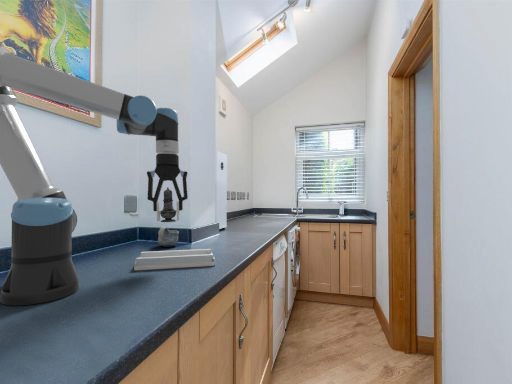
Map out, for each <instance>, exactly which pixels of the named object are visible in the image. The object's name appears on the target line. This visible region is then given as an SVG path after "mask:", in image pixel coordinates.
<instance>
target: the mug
mask: <svg viewBox="0 0 512 384" xmlns="http://www.w3.org/2000/svg"><path fill="white" fill-rule="evenodd" d="M179 232H180V231H178V230H175V229H174V230H173V229H171V230H170V229H169V228H168V227H167V226H161V227H160V228H159V230H158V231H157V234H158V238H157V242H158V244H159V245H160V246H162V247H166V248H171V247H174V246H175V245H177V243H178V242H179V234H180V233H179Z"/></svg>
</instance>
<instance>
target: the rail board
mask: <svg viewBox="0 0 512 384" xmlns="http://www.w3.org/2000/svg"><path fill="white" fill-rule="evenodd" d="M133 265H134V266H133V271H148V270H163V269H166V270H167V269H179V268H181V269H182V268H194V267H195V268H197V267H210V266H211V267H214V265H215V266H216V258H215V256H214V254H213V252H212V249H211V248H198V249H196V248H195V249H179V250H177V249H176V250H175V249H174V250H159V251H158V250H157V251H156V250H153V251H141V252H140V255H139V256H138V257H136V258H135V262H134V264H133Z"/></svg>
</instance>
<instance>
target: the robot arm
mask: <svg viewBox="0 0 512 384" xmlns="http://www.w3.org/2000/svg"><path fill="white" fill-rule="evenodd" d="M14 89H15V90H18V91H20V92H24V93H26V94H27V93H28V94H31V95H34V96H37V97H41V98H45V99H47V100H51V101H55V102H58V103H61V104H64V105H68V106H71V107H74V108H78V109H79V110H80V109H81V110H85V111H87V112H91V113H94V114H98V115H101V116H105V117H107V118H111V119H114V120H116V131H117V132H118V133H119V134H124V135H129V136H130V135H134V136H136V135H137V136H147V137H148V136H150V137H155V153H156V155H155V168H154V170H151V171H150V170H148V171H146V175H147V200H148V201H151V202H152V203H153V204H152V206H153V209H152V210H153V212H156V222H160V221H161V215H160V212H159V211H161V201H159V197H160V194H161V191H162V188H163V186H164V182H166V181H167V182H168V181H170V182H172V184H173V188H174V190H175V193H176V196H177V199H178V201H176V211H177V212H176V221H180V220H181V219H180V211H183V209H184V208H183V202H184V201H186V200H188V185H187V183H188V182H187V178H188V175H189V173H188V171H185V170H184V171H183V170H181V169H180V166H179V165H180V163H179V162H180V161H179V159H180V158H179V157H180V155H178V154H179V152H180V151H179V150H180V149H179V118H178V112H177V111H176V110H175V109H173V108H171V107H170V108H169V107H158V108H157V106H156V105H157V104H155V102H154V101H153V100H152V99H151V98H150V97H148V96H146V95H136V96H132V95H129V94H126V93H122V92H120V91H117V90H114V89H111V88H109V87H105V86H103V85H100V84H97V83H95V82H91V81H88V80H86V79H83V78H80V77H77V76H74V75H71V74H69V73H66V72H63V71H60V70H58V69H54V68H52V67H49V66H47V65H43V64H40V63H37V62H34V61H32V60H30V59H27V58H23V57H21V56H18V55H16V54H13V53H10V52H9V50H8V49H7V47H5V46H3V45H0V167H1V168H2V171H3V172H4V173H5V176H6V177H7V179H8V182H9V183H10V186H11V187H12V189H13V191H14V193H15V195H16V197H17V200H16V201H15V202H14V203H13V205H12V209H11V212H10V217H11V218H10V219H11V251H10V252H11V255H10V256H11V260H10V261H11V263H10V264H11V265H10V268H9V270H8V273H7V276H6V278H5V279H4V282H3V283H4V284H3V285H2V287H1V290H0V303H1V304H2V305H7V306H29V305H37V304H42V303H47V302H52V301H56V300H60V299H63V298H65V297H67V296H71V295H72V294H74V293H77V291H79V289H80V278H79V276H78V273H77V271H76V268H75V265H74V263H73V259H72V246H73V245H72V244H73V243H72V239H73V238H72V237H73V236H72V235H73V232H74V231H75V230H76V229H75V228H76V227H77V224H78V215H77V212H76V210H75V209H74V208H73V205H72V202H71V200H69V199H68V198H67V196H66V195H65V193H64V191H63V190H62V189H60V188H57V187H55V186H54V184H53V182H52V180H51V178H50V176H49V173H48V172H47V170H46V168H45V166H44V164H43V162H42V160H41V158H40V155H39V154H38V151H37V150H36V148H35V146H34V144H33V142H32V140H31V137H30V136H29V134H28V131H27V129H26V128H25V125H24V124H23V121H22V119H21V118H20V116H19V114H18V112H17V110H16V108H15V107H16V105H17V104H18V102H19V99H18V97H17V95H16V93H15V91H14ZM155 174H156V176H158V178H159V180H158V183H157V185H156V186H157V187H156V188H155V189H156V190H155V192H154V193H153V189H154V178H155ZM179 175H180V176H181V177H180V178H182V187H183V190H182V191H183V196H182V193H181V191H180V188H179V184H178V182H177V178H178V176H179ZM153 194H154V196H153Z"/></svg>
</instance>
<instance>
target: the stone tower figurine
mask: <svg viewBox="0 0 512 384" xmlns="http://www.w3.org/2000/svg"><path fill="white" fill-rule="evenodd" d="M162 202H163V208H162V210H160V211H159V212H160V218H161V217H162V218H163V219H161V220H160V221H159V222H161V223H173V222H174V223H175V222H177V219H174V218H175V217H176V216H177V209H174V206H173V205H174V204H173V203H174V199H173V191H172V190H171V189H170V188H169V187H166V189H165V190H164V191H163V200H162Z"/></svg>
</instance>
